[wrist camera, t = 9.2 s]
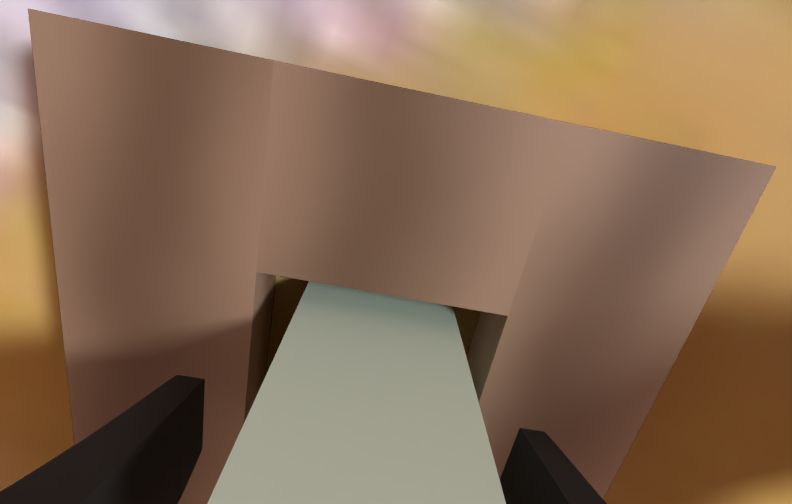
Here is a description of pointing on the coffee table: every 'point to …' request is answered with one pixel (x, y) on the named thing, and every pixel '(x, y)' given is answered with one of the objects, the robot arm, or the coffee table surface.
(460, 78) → the coffee table surface
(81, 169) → the walnut socket frame
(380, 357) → the sage peg
